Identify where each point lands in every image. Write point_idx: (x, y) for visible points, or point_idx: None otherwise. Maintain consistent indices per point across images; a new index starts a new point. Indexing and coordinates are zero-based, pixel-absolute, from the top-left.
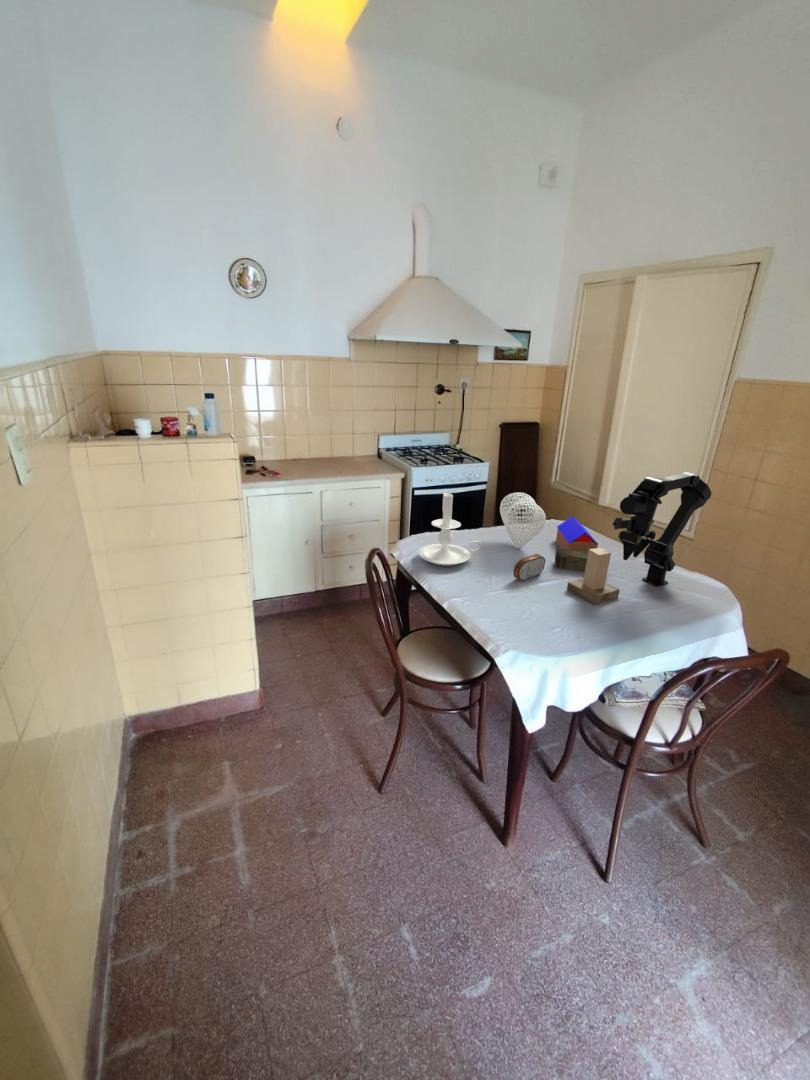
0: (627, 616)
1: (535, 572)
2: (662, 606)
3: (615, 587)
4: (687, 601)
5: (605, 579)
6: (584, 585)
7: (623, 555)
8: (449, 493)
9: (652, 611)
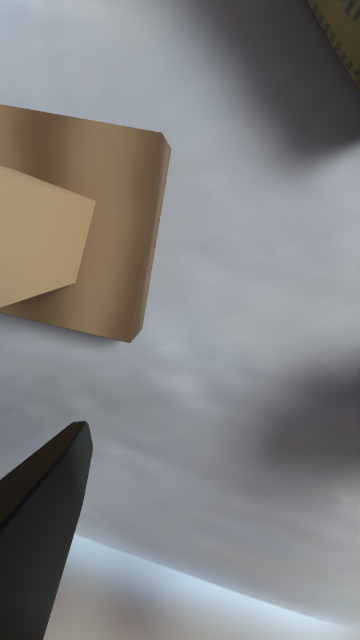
0: (30, 417)
1: None
2: (214, 476)
3: (132, 319)
4: (342, 527)
5: (40, 291)
6: None
7: (37, 451)
8: None
9: (142, 463)
